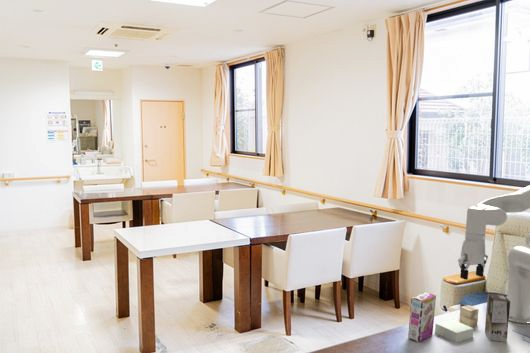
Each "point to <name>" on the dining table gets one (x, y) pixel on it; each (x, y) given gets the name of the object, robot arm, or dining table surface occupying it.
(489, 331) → the coffee box
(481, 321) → the dining table surface
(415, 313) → the candy bar box
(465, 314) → the beech block
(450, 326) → the sage base block
